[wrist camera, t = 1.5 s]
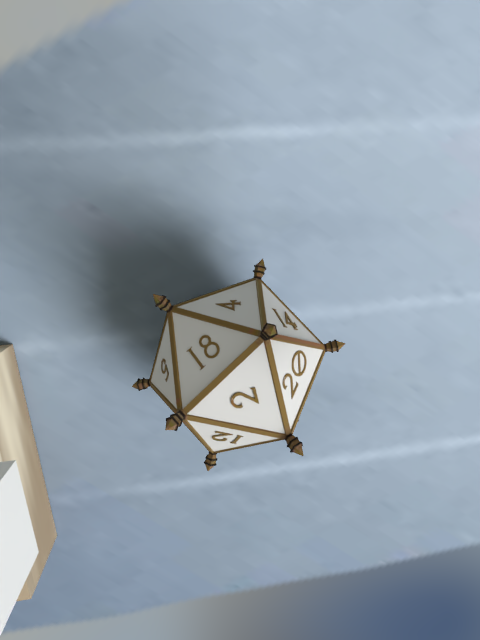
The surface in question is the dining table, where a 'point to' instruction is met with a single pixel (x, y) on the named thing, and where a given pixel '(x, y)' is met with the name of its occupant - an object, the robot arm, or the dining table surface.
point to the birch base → (24, 462)
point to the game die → (235, 367)
